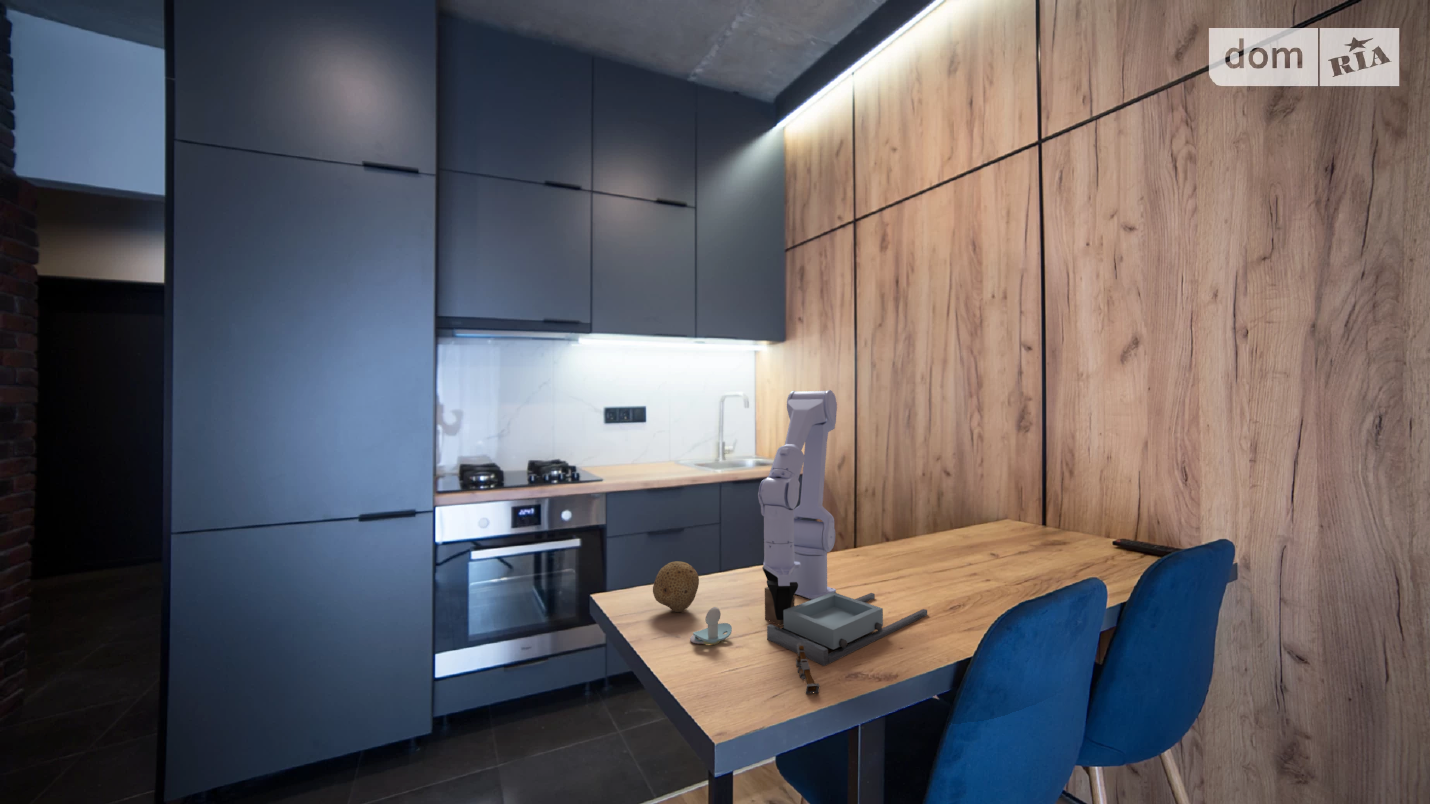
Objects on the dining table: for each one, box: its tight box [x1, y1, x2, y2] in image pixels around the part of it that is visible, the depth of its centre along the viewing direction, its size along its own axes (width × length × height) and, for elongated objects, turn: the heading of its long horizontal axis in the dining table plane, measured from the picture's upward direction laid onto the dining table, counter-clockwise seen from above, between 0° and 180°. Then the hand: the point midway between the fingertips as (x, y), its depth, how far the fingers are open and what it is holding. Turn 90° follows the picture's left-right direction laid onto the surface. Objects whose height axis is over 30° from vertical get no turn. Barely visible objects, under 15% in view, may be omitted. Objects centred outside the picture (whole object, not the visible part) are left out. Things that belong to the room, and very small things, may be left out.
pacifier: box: [689, 606, 733, 645], centre depth 95 cm, size 7×6×6 cm
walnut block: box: [764, 586, 796, 626], centre depth 103 cm, size 4×4×6 cm
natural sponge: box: [652, 560, 700, 613], centre depth 107 cm, size 9×9×10 cm
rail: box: [766, 592, 928, 667], centre depth 99 cm, size 13×31×2 cm, turn 129°
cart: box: [783, 592, 884, 651], centre depth 96 cm, size 12×14×3 cm
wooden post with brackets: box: [795, 643, 821, 695], centre depth 80 cm, size 2×8×4 cm, turn 7°
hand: (779, 611), depth 103 cm, fingers open, 7 cm apart
